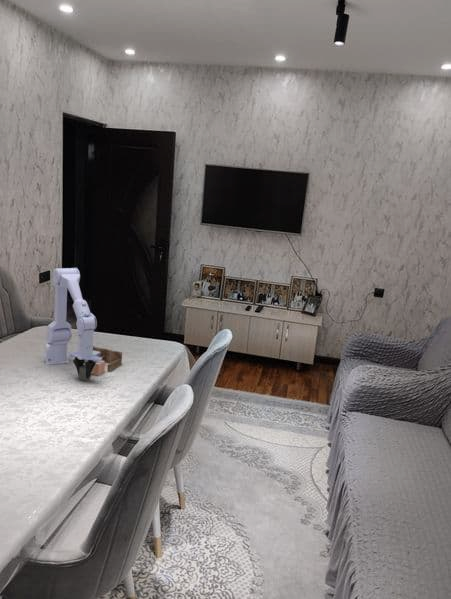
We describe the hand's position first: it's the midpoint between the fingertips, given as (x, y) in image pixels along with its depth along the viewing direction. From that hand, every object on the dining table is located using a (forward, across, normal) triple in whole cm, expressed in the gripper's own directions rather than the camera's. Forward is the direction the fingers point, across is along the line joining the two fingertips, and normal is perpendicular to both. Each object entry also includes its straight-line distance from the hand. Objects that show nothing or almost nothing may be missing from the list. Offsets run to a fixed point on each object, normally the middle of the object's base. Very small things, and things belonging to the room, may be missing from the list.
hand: (84, 376), depth 191 cm
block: (+2, -8, +18) cm, 20 cm away
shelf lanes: (+2, -4, +17) cm, 18 cm away
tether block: (+2, 0, +5) cm, 5 cm away
